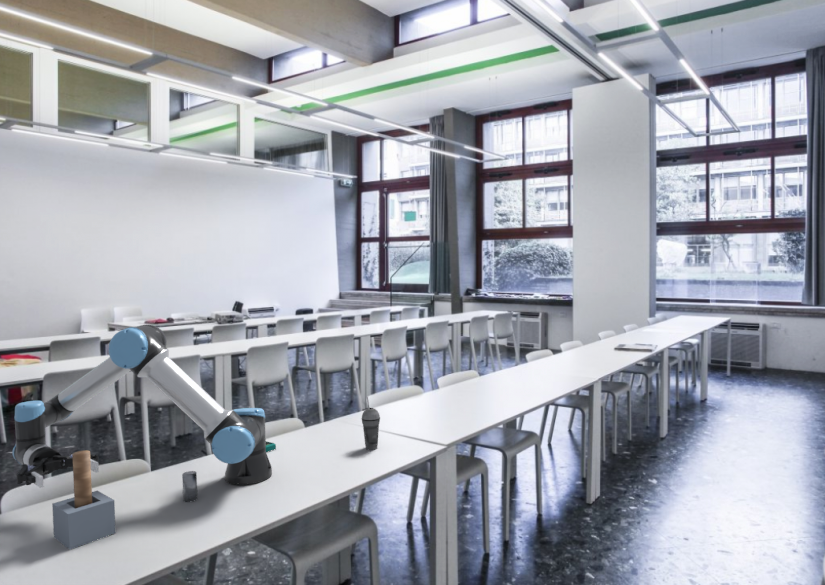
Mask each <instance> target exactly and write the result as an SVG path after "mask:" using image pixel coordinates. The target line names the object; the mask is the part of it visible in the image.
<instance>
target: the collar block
mask: <svg viewBox="0 0 825 585" xmlns="http://www.w3.org/2000/svg"><path fill="white" fill-rule="evenodd" d="M51 506H52V523H53V525H52V526H53V538H54V539H55V540H57V541H58V542H59V543H60V544H62V545H63V546H64V547H65V548H66V549H68V550H72V549H76V548H78V546H79V547H81V545H82V546H84V544H85V545H87V544H90V543H92V541H93V542H95V541H98V540H97V539H99V540H101V539H100V538H102V539H104V538H107V537H109V536H108V535H110V536H112V535H111V534H113V535H115V534H114V533H117V532H116V530H117V529H116V510H115V506H116V505H115V499H113V498H112V497H109V496H108V495H106V494H105V493H103V492H101V491H99V490H94V491H92V504H89V505H85V506H82V507H79V508H75V501H74V496H73V497H70V498H67V499H63V500H60V501H57V502H53V503H52V505H51ZM106 536H107V537H106ZM103 537H104V538H103Z"/></svg>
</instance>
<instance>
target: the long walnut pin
mask: <svg viewBox="0 0 825 585" xmlns="http://www.w3.org/2000/svg"><path fill="white" fill-rule="evenodd" d="M72 453H73V454H72V455H73V467H72V476H73V478H72V479H73V494H74V496H73V497H74V501H75V508H79V507H82V506H85V505H89V504H92V492H93V489H92V471H91V461H90V455H91V451H90V450H79V451H75V452H72Z"/></svg>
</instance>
